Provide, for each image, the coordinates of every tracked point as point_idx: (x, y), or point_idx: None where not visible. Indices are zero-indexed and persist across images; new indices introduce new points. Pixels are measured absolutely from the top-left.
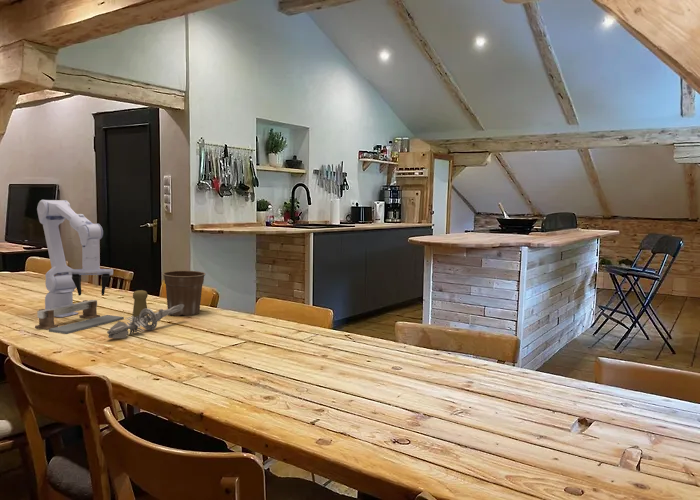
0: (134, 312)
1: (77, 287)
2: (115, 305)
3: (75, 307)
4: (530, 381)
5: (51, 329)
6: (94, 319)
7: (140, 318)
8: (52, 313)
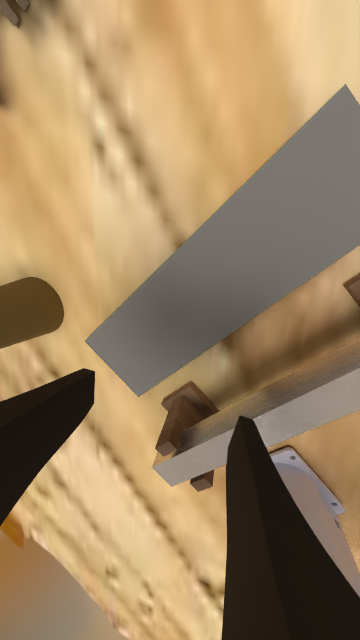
0: (26, 301)
1: (275, 483)
2: (121, 513)
3: (256, 405)
4: None
5: None
6: (182, 340)
7: None
8: None
